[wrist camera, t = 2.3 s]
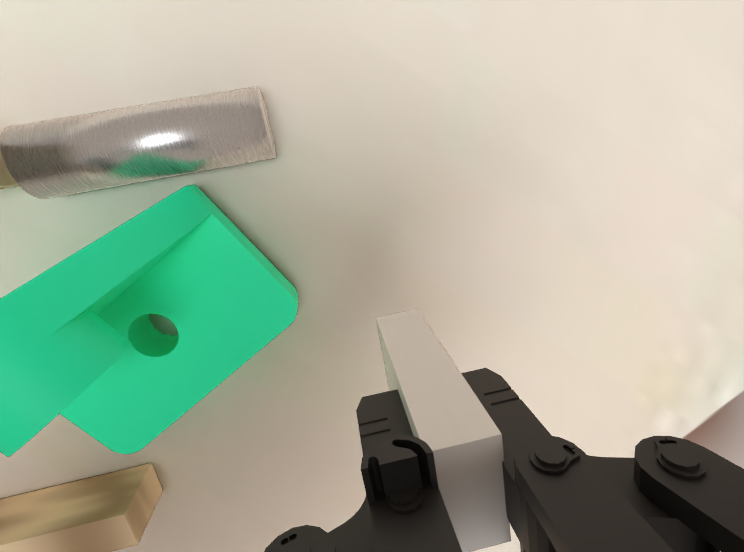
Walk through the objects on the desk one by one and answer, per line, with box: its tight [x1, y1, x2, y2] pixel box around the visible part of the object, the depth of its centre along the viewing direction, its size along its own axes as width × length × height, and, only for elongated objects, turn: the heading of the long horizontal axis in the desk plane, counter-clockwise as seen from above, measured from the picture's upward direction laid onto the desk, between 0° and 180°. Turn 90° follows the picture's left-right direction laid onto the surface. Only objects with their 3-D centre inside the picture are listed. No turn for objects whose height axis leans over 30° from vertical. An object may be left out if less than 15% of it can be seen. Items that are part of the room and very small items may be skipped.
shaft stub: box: [0, 86, 276, 199], centre depth 17 cm, size 10×3×3 cm
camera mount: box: [0, 185, 298, 457], centre depth 16 cm, size 12×8×10 cm, turn 129°
